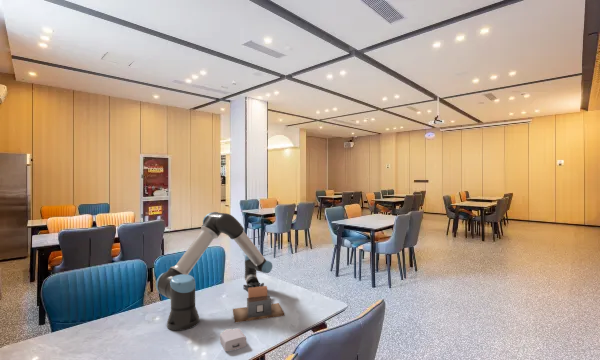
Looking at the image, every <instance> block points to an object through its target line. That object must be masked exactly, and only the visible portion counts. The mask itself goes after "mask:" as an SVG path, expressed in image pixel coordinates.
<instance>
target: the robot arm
mask: <svg viewBox="0 0 600 360" xmlns="http://www.w3.org/2000/svg"><path fill="white" fill-rule="evenodd" d="M200 228H201V229H200V230H201V231H200V232H199V233H198V234H197V236H196V237H195V239H194V240H193V241H192V243H191V244H190V245H189V247H188V248H187V249H186V250H185V252H184V253H183V255H182V256H181V257H180V258H179V260H178V262H177V263H176V264H175V265H174V266H170V267H169V268H168V270H167V271H165V272H162V273H161V274H160V275H159V276H158V277H157V279H156V281H155V289H156V291H157V292H158V293H159V294H160V295H161V296H162V297H165V298H167V299H170V312H169V316H168V318H167V322H166V324H167V325H166V327H167V329H169V330H171V331H186V330H189V329H192V328H193V327H196V326H197V325H198V324H199V322H200V316H199V313H198V310H197V307H196V279H195V278H194V276H192V275H190V273H191V271H192V270H193V268H194V267H195V266H196V264H197V263H198V261H199V260H200V259H201V258H202V256H203V254H204V253H205V251H206V250H207V249H208V247H209V246H210V245H211V243H213V242H212V241H213V240H214V239H218V237H219V236H220V235H221V234H225V235H226V236H228V238H230V239H231V240H234V242H235V243H236V244H237V246H238V247H239V248H240V249H241V250H242V251H243V253H244V254H245V255H244V280H245V283H246V284H243V290H244V291H246V292H247V293H248V288H251V287H261V286H265V282H262V283H260V281H259V279H258V277H257V271H258V272H261V273H263V274H264V273H265V274H268V273H269V274H270V273H271V271H272V269H273V263H272V261H270V260H268V259H266V258H265V257H264V255H263V254H262V253H261V251H260V250H259V249H258V248H257V246H256V245H255V244H254V242H253V241H252V240H251V239H250V237H249V236H248V235H247V233H246V232H245V228H244V227H243V225H242V224H241V223H240V222H239V221H238V220H237V218H236V217H234V216H233V215H232V214H231V213H226V212H219V211H213V212H209V213H207V214H206V215H205V216H204V217H203V220H202V225H201V227H200Z"/></svg>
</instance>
